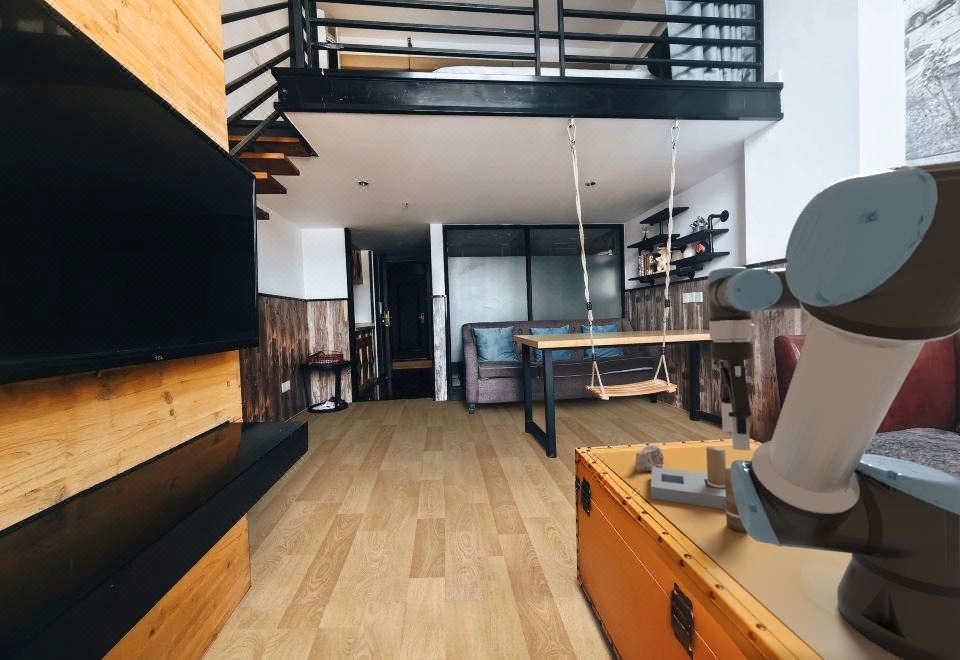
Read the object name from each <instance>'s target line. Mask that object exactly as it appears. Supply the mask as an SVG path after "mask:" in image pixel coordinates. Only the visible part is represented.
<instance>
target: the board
mask: <svg viewBox="0 0 960 660" xmlns="http://www.w3.org/2000/svg"><path fill="white" fill-rule="evenodd" d="M705 451H706V470H707V472H698V471H689V470H682V469H681V470H680V469H672V468H665V467H663V468H656V467H652V471H651V477H650V478H651V480H650V497H651V498H650V499H652V500H657V501H666V502H672V503H677V504H678V503H679V504H685V505H686V504H687V505H693V506H698V507H705V508H713V509H719V510H725V511H726V493H725V469H727V460H726V458H727V457H726V449H725V448H724V447H721V446H713V445H709V446H706V449H705Z"/></svg>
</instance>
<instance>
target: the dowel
mask: <svg viewBox="0 0 960 660" xmlns="http://www.w3.org/2000/svg"><path fill="white" fill-rule="evenodd" d="M725 493H726V510H725V515H726V527H727V528H728V529H729V530H731V531H733V532H736V533H740V534H741V533H742V534H746V533H747V531H746V530H745V528H744V526H743V523H742V521H741V518H740V515H739V512H738V509H737V505H736V502H735V498H734V493H733V488H732V482H731V467H726V469H725ZM747 534H748V533H747Z"/></svg>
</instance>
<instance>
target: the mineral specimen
mask: <svg viewBox="0 0 960 660" xmlns="http://www.w3.org/2000/svg"><path fill="white" fill-rule="evenodd" d="M635 456H636V457H635V465H634V470H635V471H636V472H639V473H642V472H645V473H646V472H652V467H656V468H664V466H663V465H664V456H663V453H662V449H660V447H659V446H656V445H653V444H651V445H647V446H645V447H643V448H642V449H641V450H640V451H639V452H636V453H635Z"/></svg>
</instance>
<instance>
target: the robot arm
mask: <svg viewBox="0 0 960 660" xmlns="http://www.w3.org/2000/svg"><path fill="white" fill-rule="evenodd" d="M787 240H788V241H787V245H786V250H785V256H784V258H785V259H786V260H787V264H786V265H785V267H784V268H774V269H773V268H772V269H766V268H762V267H760V268H758V267H757V268H756V267H754V268H747V267H745V266H732V267H723V268H719V269H718V268H717V269H714V270H711V271H710V272H709V273H708V274H707V275H708V276H707V285H706V289H707V295H708V296H707V297H708V312H709V313H708V314H709V321H708V323H709V325H708V326H709V339H710V340H711V341H712V342H711V343H710V358H712V359H713V360H716V361H718V360H719V361H720V363H719V364H720V368H719V371H720V373H719V374H720V385H719V386H720V389H719V391H720V392H719V398H720V401H721V419H722V421H721V422H722V424H721V425H722V432H724V433H731V434H732V435H731V437H732V449H733V450H738V451H748V452H749V451H751V443H750V425H749V424H750V421H749V420H750V419H749V417H751V416H752V411H751V406H750V398H749V393H748V385H747V384H748V383H747V376H746V370H747V369H746V368H747V367H746V366H745V365H742V364H741V361H748V360H753V358H754V349H753V348H754V347H753V345H754V344H753V343H752V341H749V340H751V339H752V338H753V334H752V333H753V331H752V330H754V329H756V325H755V324H753V323H752V312H759V311H762V312H763V311H776V310H777V311H778V310H779V311H780V310H782V311H783V310H799V309H802V311H803V312H804V314H805V315H807V316H808V317H809V318H810V319H811V320H810V323H809V326H808V329H807V332H806V336H805V339H804V341H803V344H802V346H801V347H802V348H801V350H800V354H799V356H798V359H797V363H796V365H795V368H794V371H793V375H792V378H791V379H790V380H791V381H790V384H789V387H788V389H787V392H786V396H785V399H784V402H783V404H782V408H781V410H780V414H779V417H778V420H777V423H776V426H775V429H774V432H773V434H772V438H771V440H768V441H765V442H763V443H762V444H760V445H758V446H757V448H755V450H754V452H753V454H752V457H751V460H746V459H744V458H742V459H740V460H734V461H732V462H731V464H730V468H731V482H732V488H733V493H734V498H735V502H736V505H737V509H738V512H739V515H740V518H741V521H742V523H743V526H744V528H745V530H746V531H747V534H748V536H749V537H750V538H752V539H753V540H754V541H756V542H759V543H764V544H769V545H770V544H771V545H776V546H777V547H789V548H798V549H807V550H819V551H827V552H835V553H836V552H837V553H846V554H851V558H850V561H849V562H848V565H847V567H846V569H845V571H844V573H843V574H842V577H841V579H840V582H839V584H838V586H837V589H836V590H837V591H836V592H837V593H836V594H837V606H838V609H839V612H840V613H841V615H842V616H843V618H845V620H846V621H847V622H848V623H849V624H850V625H851V626H852V627H853V628H854V629H855V630H856V631H858V632H859V633H861V634H862V636H864V637H866V638H867V639H869V640H871V641H872V642H873V643H875V644H877V645H878V646H880V647H882V648H884V649H886V650H887V651H888V652H891V653H893V654H895V655H897V656H898V657H900V658H903V659H904V660H960V479H959V477H955V476H954V475H951V474H949V473H947V472H944V471H942V470H938V469H936V468H933V467H930V466H926V465H923V464H919V463H915V462H913V461H908V460H903V459H900V458H896V457H889V456H885V455H878V454H872V453H866V451H867V450H868V447H869V446H870V444H871V442H872V440H873V438H874V436H875V434H876V433H877V431H878V429H879V428H880V426H881V424H882V422H883V420H884V418H885V417H886V414H887V413H888V411H889V410H890V407H891V406H892V404H893V402H894V400H895V398H896V397H897V395H898V393H899V392H900V390H901V387H902V386H903V384H904V382H905V381H906V378H907V377H908V375H909V373H910V371H911V369H912V368H913V366H914V364H915V362H916V360H917V359H918V357H919V355H920V353H921V351H922V350H923V348H924V346H925V343H929V342H930V343H931V342H936V341H941V340H944V339H947V338H950V337H952V336H955V334H957V333H959V331H960V160H956V161H955V160H954V161H948V162H947V161H946V162H939V163H933V164H932V163H931V164H922V165H914V166H909V165H900V166H894V167H889V168H886V169H882V170H879V171H875V172H871V173H870V172H869V173H865V174H864V173H863V174H859V175H853V176H849V177H845V178H842V179H840V180H837V181H835V182H832V183H831V184H830V185H828V186H826V187H825V188H824V189H823V190H822V191H820V192H818V193H817V194H815V195H814V196H813V197H812V198H811V199H810V200H809V202H808V203H807V204H806V205H805V207H804V208H803V209H802V210H801V212H800V214H799V216H798V217H797V219H796V221H795V222H794V225H793V228H792V229H791V232H790V235H789V238H788V239H787Z"/></svg>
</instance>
